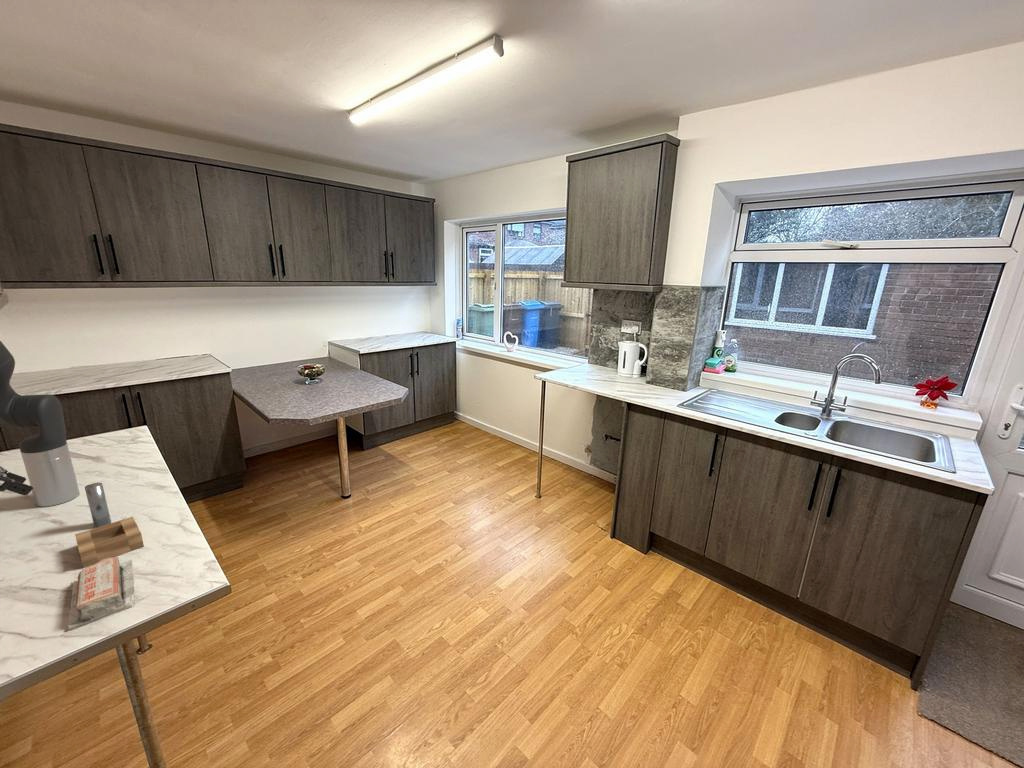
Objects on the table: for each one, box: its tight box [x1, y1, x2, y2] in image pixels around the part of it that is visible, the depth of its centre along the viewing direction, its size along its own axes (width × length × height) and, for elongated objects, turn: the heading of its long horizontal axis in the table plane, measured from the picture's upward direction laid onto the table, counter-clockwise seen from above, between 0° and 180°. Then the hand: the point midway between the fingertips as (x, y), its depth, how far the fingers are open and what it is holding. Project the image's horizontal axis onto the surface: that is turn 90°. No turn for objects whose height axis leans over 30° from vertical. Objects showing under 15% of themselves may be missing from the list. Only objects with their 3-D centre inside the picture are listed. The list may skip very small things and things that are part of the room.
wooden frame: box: [74, 516, 145, 569], centre depth 105 cm, size 11×11×4 cm
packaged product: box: [67, 556, 136, 631], centre depth 90 cm, size 18×5×10 cm
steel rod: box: [84, 482, 112, 528], centre depth 113 cm, size 3×3×12 cm
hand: (26, 486), depth 102 cm, fingers open, 8 cm apart
